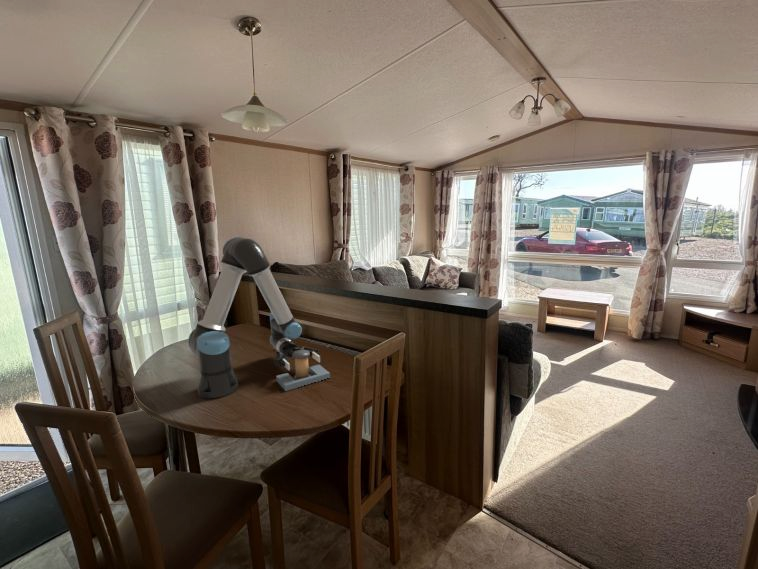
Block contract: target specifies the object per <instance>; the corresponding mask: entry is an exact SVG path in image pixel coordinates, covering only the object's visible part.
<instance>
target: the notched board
mask: <svg viewBox="0 0 758 569" xmlns="http://www.w3.org/2000/svg"><path fill="white" fill-rule="evenodd" d="M309 372H310V373H309V374H310V375H311V376H310V377H306V378H302V379H299V380H294V377H292V375H290V374H289V373H288V372H286V373H282V374H278V375H275V376H276V377H275V378H276V382H277V383H278V385H279V386H280V387H281V388H282V389H283V390H284V392H289V391H291V390H295V389H298V387H299V388H301V386H302V387H304V385H306V386H309V385H312V384H311V383H313V384H315V383H314V382H316V383H319V382H322V381H321V380H323V381H325V380H324V379H326V380H328V379H327V378H330V379H331V372H330V371H328V370H327V369H325V368H324V367H323V366H322V365H321V364H315V365H312V366H309ZM312 374H313V375H312ZM318 381H319V382H318ZM308 384H309V385H308Z"/></svg>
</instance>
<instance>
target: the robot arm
mask: <svg viewBox="0 0 758 569" xmlns="http://www.w3.org/2000/svg"><path fill="white" fill-rule="evenodd" d="M220 264H221V266H222V269H221V270H220V274H219V277H218V279H217V282H216V285H215V286H214V290H213V293H212V295H211V297H210V301H209V302H208V305H207V308H206V311H205V312H204V313H205V314H204V316H203V319H201V320H200V321H198V322H197V323H196V326H195V328H194V329H193V330H192V331H191V332H190V334H189V335H188V347H189V349H190V350H191V351H192V353H193V354H195V356H196V357H197V358H198V363H199V371H200V377H199V381H198V385H197V396H199V397H200V398H203V399H218V398H222V397H225V396H228V395H230V394H232V393H234V392H235V391H236V390H238V388H239V381H238V378H237V377H236V374H235V372H234V370H233V366H232V356H231V343H230V342H231V341H230V338H229V335H228V334H227V333H225V332H226V327H225V326H224V325H225V322H226V321H227V320H226V319H227V317H228V314H229V311H230V308H231V306H232V303H233V302H234V298H235V295H236V292H237V290H238V287H239V285H240V282H241V280H242V277H243V275H244V274H245V273H247V274H248V276H249V277H252V278H253V281H254V282H255V284H256V286H257V287H258V290H259V291H260V293H261V295H262V297H263V299H264V301H265V302H266V304H267V306H268V308H269V310H270V313H269V322H270V332H271V335H270V336H269V343H270V345H271V346H272V347H273V349H275V351H276V352H275V353H276V356H275V358H274V365H275V366H278V365H279V367H284V368H285V369H286V370H288V371H291V363H289V362H288V361H287V360H289V359H291V358H293V352H295V351H298V350H308V351H309V352H310V356H309V357H312V359H314V360H315V361H316V362H317V363H321V355H320V349H317V348H314V347H308V346H306V345H302V347H298V346H297V344H296V343H294V342H293V341H292V340H297V339H298V338H299V337H300V336H301V334H302V332H303V331H302V330H303V328H302V326H301V324H299V323H298V322H296V319H295V317H294V316H293V314H292V312H291V310H290V307H289V306H288V304H287V302H286V300H285V298H284V295H283V294H282V292H281V290H280V289H279V285H278V284H277V282H276V280H275V278H274V276H273V274H272V271H271V270H270V267H271V265H270V262H269V260H268V259H267V256H266V255H265V252H264V250H263V248H262V247H261V246H260V244H259V243H258V242H257V241H256V240H254V239H251V238H247V237H246V238H245V237H240V236H239V237H238V236H237V237H233V238H232V237H231V238H230V239H228V240H227V241H226V242H225V243H224V245H223V247H222V258H221V261H220Z"/></svg>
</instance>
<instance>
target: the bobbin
mask: <svg viewBox="0 0 758 569" xmlns="http://www.w3.org/2000/svg"><path fill="white" fill-rule="evenodd" d="M309 357H311V356H310V352H309V351H308V350H298V351H295V352H293V357H292V358H293V359H294V368H295V375H294V376H293V379H294V380H299V379H302V378H306V377H310V376H312V374H311V373H309V367H310V366H309Z"/></svg>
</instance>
